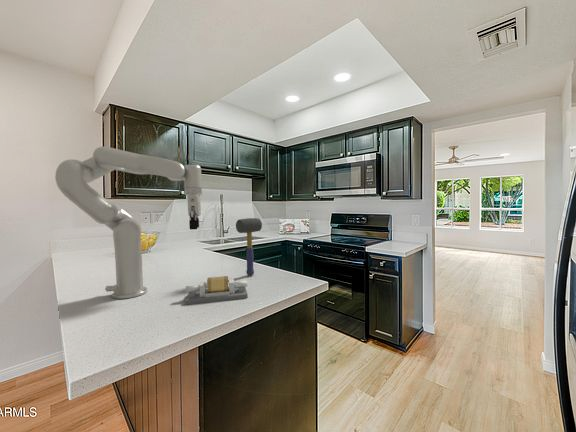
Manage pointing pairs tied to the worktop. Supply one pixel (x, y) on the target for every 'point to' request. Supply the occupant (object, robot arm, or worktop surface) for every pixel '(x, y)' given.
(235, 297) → the shaft stand
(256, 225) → the rubber mallet
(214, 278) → the coupler
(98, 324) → the worktop surface
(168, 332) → the worktop surface
